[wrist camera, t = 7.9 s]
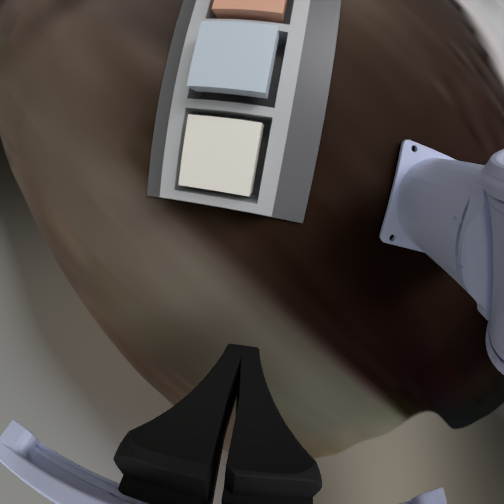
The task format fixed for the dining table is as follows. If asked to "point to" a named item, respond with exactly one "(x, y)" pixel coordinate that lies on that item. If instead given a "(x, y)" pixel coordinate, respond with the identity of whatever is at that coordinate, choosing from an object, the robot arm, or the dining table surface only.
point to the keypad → (253, 110)
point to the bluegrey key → (234, 58)
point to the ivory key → (220, 154)
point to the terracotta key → (251, 10)
